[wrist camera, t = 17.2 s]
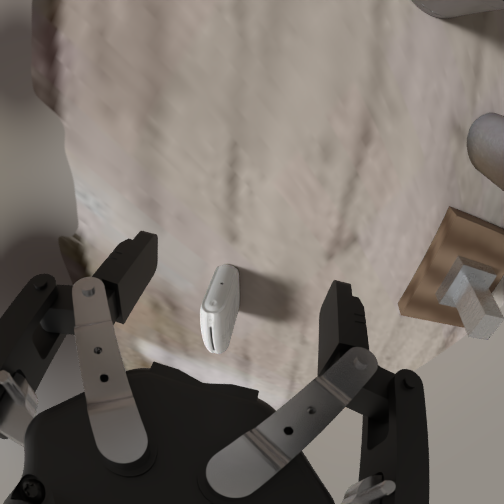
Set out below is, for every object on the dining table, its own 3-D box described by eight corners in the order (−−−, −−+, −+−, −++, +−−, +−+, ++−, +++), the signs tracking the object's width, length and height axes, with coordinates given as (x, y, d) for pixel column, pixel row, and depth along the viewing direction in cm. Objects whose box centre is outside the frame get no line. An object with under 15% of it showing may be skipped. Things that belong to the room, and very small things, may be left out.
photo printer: (214, 261, 53) (193, 313, 43) (240, 264, 53) (223, 317, 43) (218, 306, 59) (201, 358, 49) (241, 309, 58) (227, 362, 48)
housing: (458, 255, 42) (484, 303, 33) (491, 266, 41) (517, 311, 32) (435, 293, 46) (453, 343, 37) (468, 301, 46) (488, 348, 37)
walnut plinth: (449, 206, 41) (456, 215, 38) (514, 233, 40) (522, 243, 38) (397, 303, 52) (400, 314, 50) (462, 317, 52) (466, 327, 49)
